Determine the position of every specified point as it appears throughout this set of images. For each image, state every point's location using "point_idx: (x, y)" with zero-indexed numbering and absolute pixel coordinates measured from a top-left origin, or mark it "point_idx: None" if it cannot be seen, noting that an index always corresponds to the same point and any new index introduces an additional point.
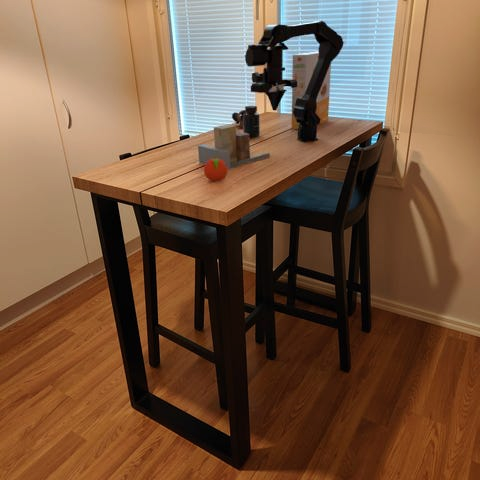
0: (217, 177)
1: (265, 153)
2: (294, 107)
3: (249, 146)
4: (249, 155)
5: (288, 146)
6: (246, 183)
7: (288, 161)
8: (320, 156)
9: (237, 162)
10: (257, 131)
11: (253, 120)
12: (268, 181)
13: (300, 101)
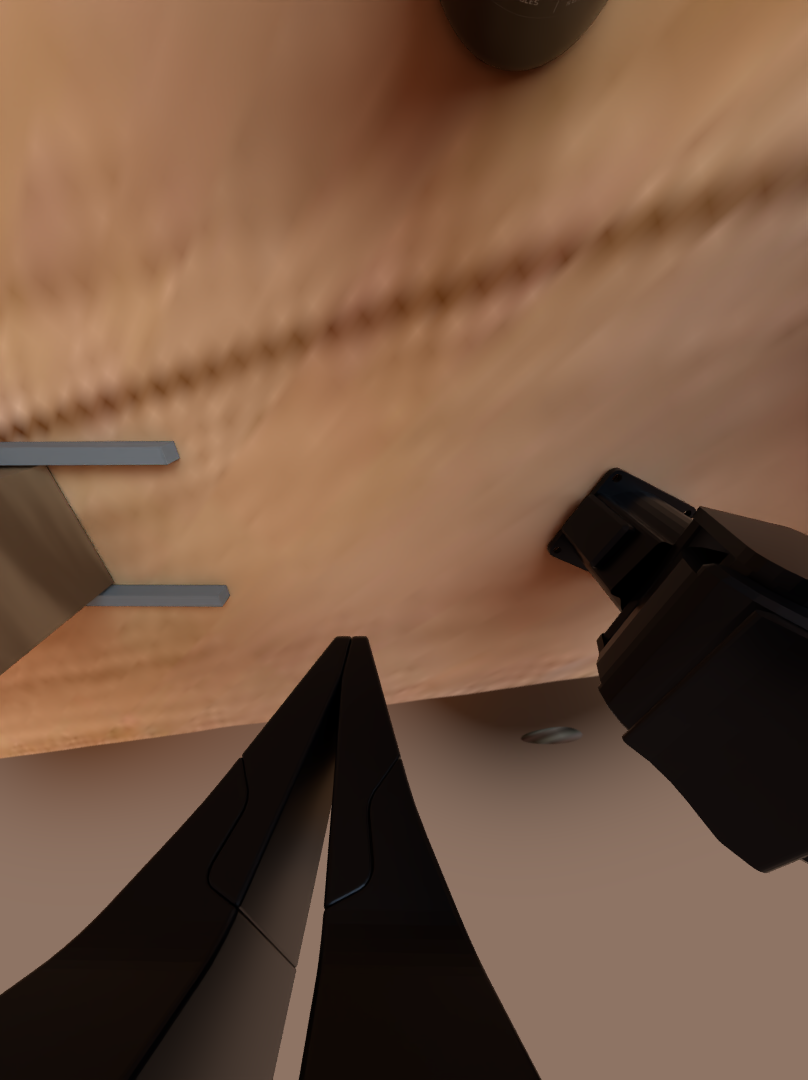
0: None
1: (200, 598)
2: (740, 642)
3: (53, 631)
4: (92, 598)
5: (421, 545)
6: (27, 709)
7: (255, 672)
8: None
9: None
10: (541, 30)
11: None
12: (98, 729)
13: (804, 776)
